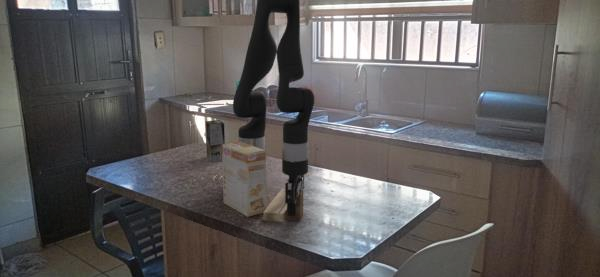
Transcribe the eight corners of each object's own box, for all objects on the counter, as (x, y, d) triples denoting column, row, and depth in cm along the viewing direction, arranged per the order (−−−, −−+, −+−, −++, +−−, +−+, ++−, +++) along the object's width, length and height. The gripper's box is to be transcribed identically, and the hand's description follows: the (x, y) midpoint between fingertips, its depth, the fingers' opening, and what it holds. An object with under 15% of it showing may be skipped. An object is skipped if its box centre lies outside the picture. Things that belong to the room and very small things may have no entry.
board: (263, 220, 140) (263, 211, 139) (282, 195, 161) (282, 187, 160) (283, 222, 139) (283, 213, 138) (299, 196, 160) (299, 189, 159)
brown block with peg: (283, 219, 141) (283, 193, 139) (287, 214, 145) (287, 189, 143) (300, 220, 140) (300, 194, 138) (303, 215, 144) (303, 190, 142)
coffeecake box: (267, 212, 146) (266, 150, 142) (247, 217, 142) (245, 153, 138) (242, 198, 158) (240, 140, 153) (222, 203, 153) (220, 143, 149)
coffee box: (225, 161, 202) (224, 123, 199) (210, 162, 200) (209, 124, 196) (221, 155, 211) (219, 119, 207) (206, 157, 208) (205, 120, 205)
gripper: (288, 150, 145) (288, 200, 149) (276, 162, 132) (276, 218, 135) (312, 151, 144) (312, 202, 148) (302, 164, 130) (302, 220, 134)
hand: (295, 210), depth 142 cm, fingers open, 8 cm apart
